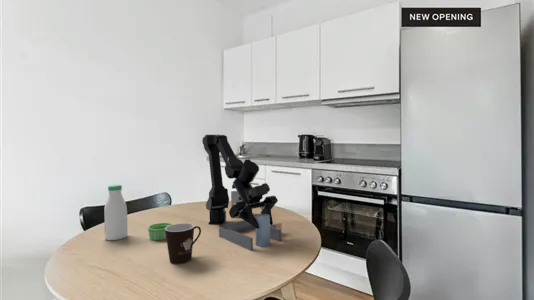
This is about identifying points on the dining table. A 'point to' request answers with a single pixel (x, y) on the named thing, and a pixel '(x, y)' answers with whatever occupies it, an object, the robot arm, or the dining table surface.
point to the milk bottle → (115, 214)
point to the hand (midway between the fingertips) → (265, 226)
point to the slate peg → (263, 230)
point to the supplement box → (234, 197)
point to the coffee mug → (180, 242)
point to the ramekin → (158, 231)
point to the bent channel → (242, 240)
